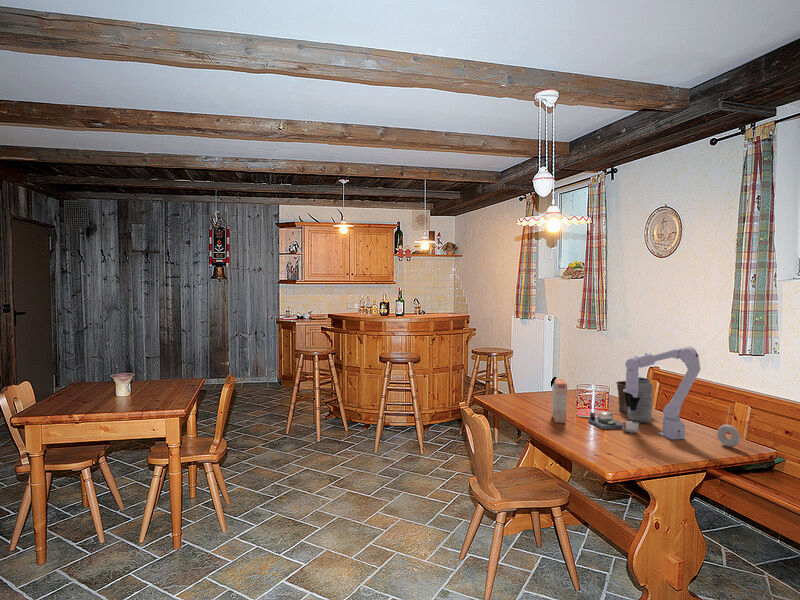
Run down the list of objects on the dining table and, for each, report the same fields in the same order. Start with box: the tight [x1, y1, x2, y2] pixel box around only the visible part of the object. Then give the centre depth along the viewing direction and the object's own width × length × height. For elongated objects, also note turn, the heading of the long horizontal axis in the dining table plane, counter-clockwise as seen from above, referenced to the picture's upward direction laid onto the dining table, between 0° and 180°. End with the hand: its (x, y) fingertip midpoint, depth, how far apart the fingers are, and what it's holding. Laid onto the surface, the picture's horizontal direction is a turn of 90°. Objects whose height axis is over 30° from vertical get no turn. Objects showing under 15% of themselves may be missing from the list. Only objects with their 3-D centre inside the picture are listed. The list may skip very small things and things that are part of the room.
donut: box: [716, 424, 741, 448], centre depth 228 cm, size 10×4×10 cm, turn 23°
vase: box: [626, 377, 654, 424], centre depth 267 cm, size 12×12×23 cm
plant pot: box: [615, 380, 628, 414], centre depth 288 cm, size 16×16×16 cm
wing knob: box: [622, 420, 640, 434], centre depth 249 cm, size 7×5×5 cm
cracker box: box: [551, 378, 568, 424], centre depth 268 cm, size 14×6×21 cm, turn 168°
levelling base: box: [587, 411, 624, 430], centre depth 260 cm, size 14×12×6 cm
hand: (631, 408), depth 254 cm, fingers open, 7 cm apart
